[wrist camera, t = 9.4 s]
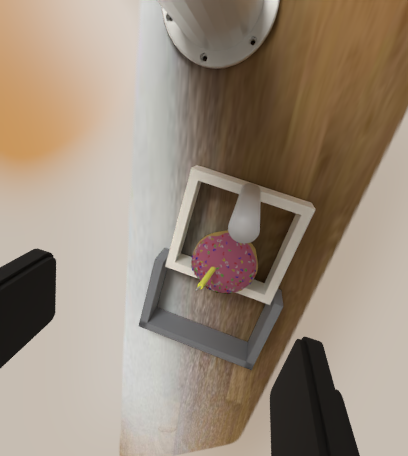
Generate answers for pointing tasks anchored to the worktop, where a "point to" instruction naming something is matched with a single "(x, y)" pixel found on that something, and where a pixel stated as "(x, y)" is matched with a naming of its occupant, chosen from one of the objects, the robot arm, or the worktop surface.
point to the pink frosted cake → (224, 263)
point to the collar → (242, 225)
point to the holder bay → (201, 334)
